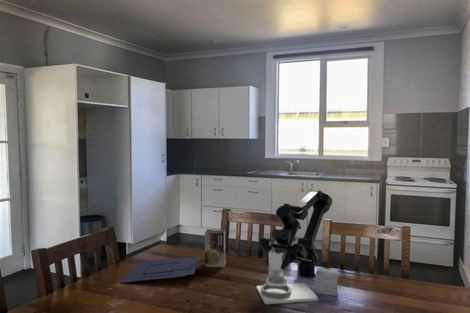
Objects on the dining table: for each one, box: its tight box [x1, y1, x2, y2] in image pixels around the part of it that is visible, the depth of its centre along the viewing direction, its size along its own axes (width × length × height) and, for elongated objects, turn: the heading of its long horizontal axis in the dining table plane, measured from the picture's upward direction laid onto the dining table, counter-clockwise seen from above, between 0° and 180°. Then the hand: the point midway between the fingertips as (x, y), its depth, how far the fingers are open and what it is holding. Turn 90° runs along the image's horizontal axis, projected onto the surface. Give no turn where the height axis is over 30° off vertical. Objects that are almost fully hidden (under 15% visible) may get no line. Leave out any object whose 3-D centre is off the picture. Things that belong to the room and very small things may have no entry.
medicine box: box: [315, 267, 339, 297], centre depth 140 cm, size 8×4×9 cm, turn 71°
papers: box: [120, 257, 201, 284], centre depth 159 cm, size 24×30×4 cm
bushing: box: [265, 249, 288, 288], centre depth 137 cm, size 8×8×12 cm
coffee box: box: [204, 228, 227, 268], centre depth 170 cm, size 9×6×16 cm
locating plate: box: [255, 282, 319, 305], centre depth 139 cm, size 20×14×2 cm
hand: (274, 267), depth 136 cm, fingers closed on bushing, 6 cm apart
